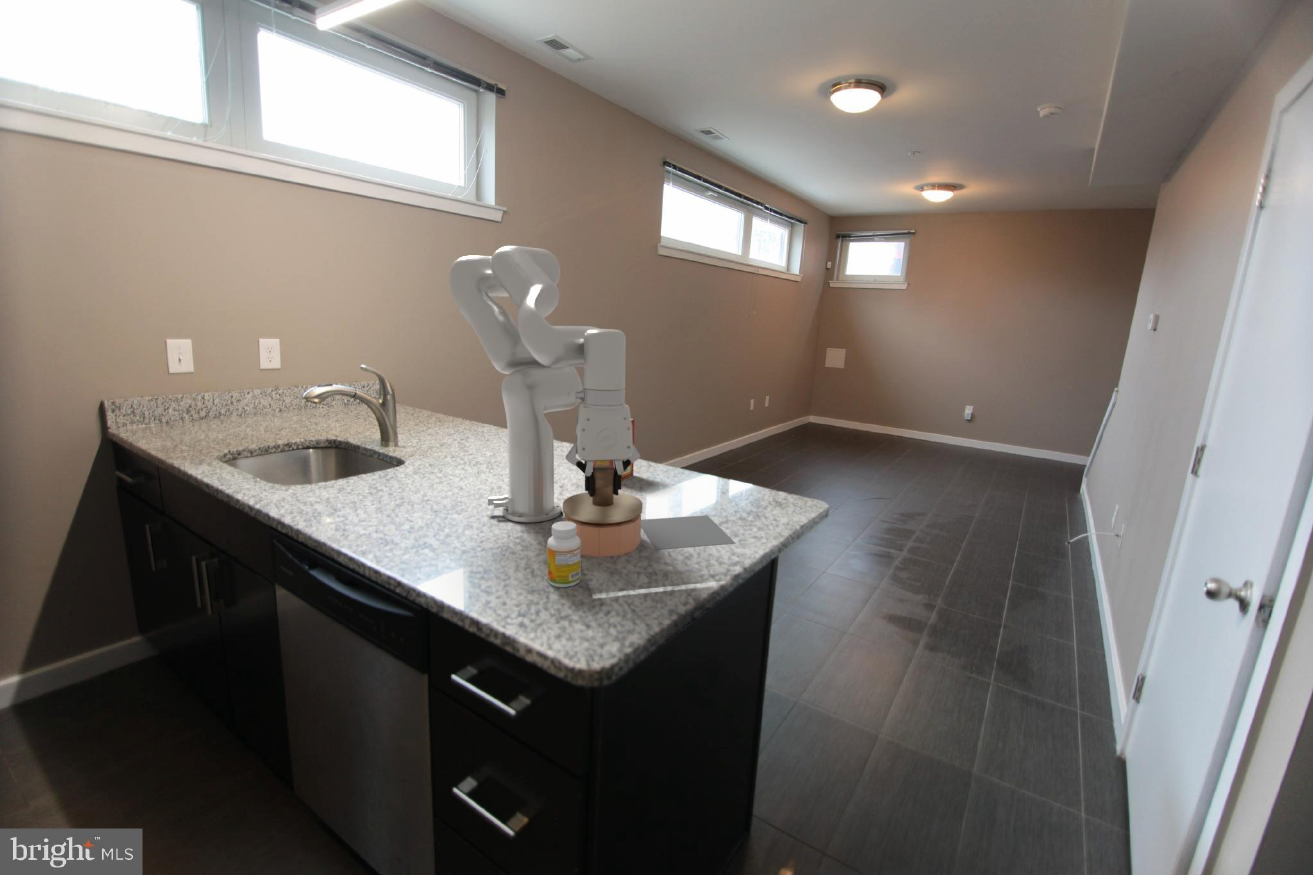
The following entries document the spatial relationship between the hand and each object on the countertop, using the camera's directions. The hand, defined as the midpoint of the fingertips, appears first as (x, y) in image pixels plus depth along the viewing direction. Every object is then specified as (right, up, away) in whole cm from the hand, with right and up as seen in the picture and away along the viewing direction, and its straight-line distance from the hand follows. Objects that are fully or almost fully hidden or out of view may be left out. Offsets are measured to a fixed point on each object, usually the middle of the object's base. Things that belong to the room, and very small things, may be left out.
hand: (603, 493), depth 111 cm
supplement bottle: (-5, -13, -13) cm, 20 cm away
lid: (0, -3, +1) cm, 3 cm away
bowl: (0, -10, +2) cm, 10 cm away
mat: (+16, -9, +9) cm, 20 cm away
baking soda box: (-2, 0, +47) cm, 47 cm away
